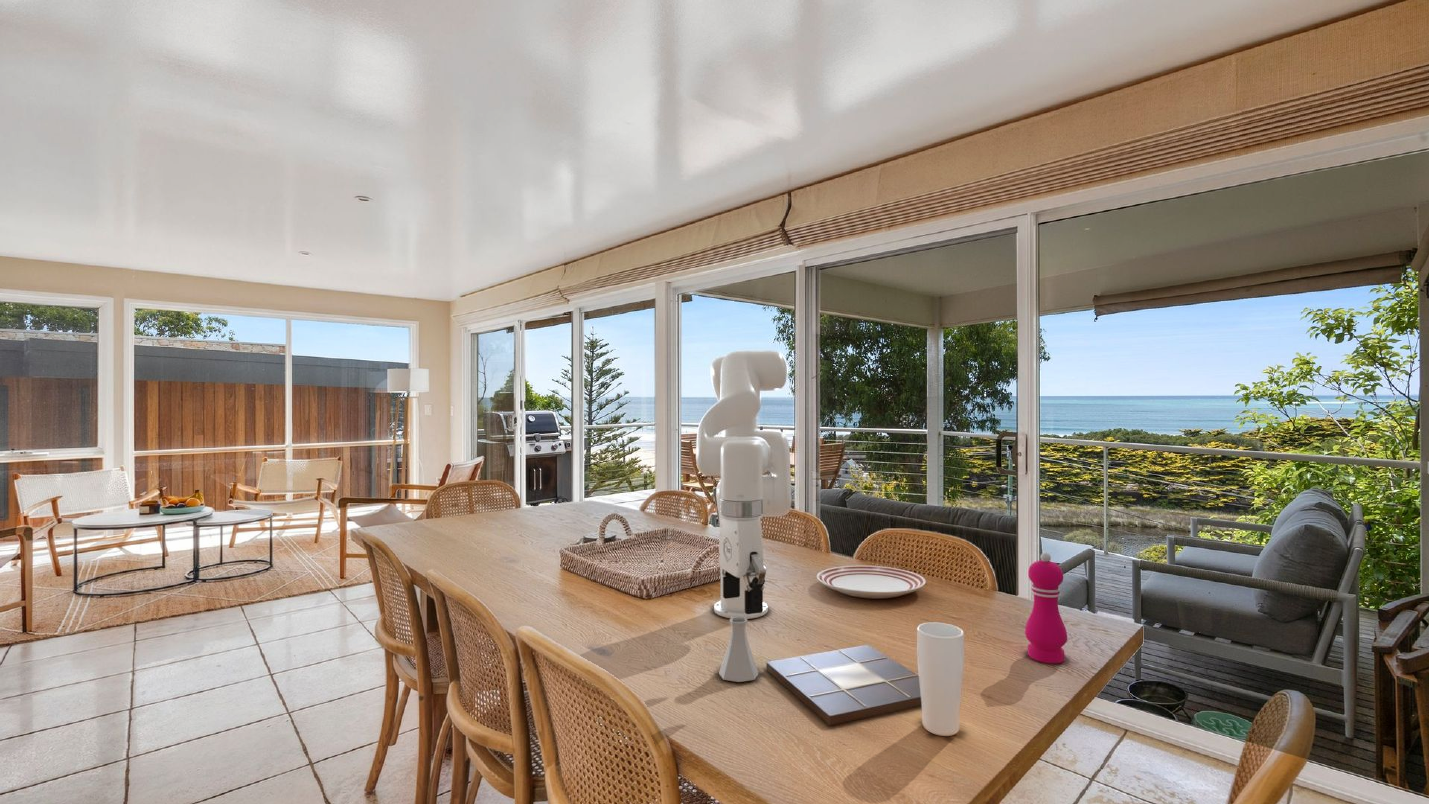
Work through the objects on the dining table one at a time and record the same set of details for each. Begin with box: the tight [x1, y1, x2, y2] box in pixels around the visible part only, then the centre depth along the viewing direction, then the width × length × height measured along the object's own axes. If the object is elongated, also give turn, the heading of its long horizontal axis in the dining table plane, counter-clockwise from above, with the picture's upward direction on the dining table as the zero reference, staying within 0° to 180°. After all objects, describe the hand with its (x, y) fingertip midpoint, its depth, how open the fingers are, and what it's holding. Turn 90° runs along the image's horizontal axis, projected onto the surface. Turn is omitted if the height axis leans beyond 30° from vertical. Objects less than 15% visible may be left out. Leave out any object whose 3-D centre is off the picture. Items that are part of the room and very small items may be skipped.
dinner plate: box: [816, 565, 927, 599], centre depth 170 cm, size 27×27×3 cm
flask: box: [718, 617, 760, 683], centre depth 118 cm, size 7×7×10 cm
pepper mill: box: [1024, 552, 1068, 664], centre depth 125 cm, size 7×7×20 cm
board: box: [765, 644, 922, 727], centre depth 114 cm, size 22×22×2 cm
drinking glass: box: [916, 621, 965, 737], centre depth 98 cm, size 7×7×15 cm
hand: (742, 604), depth 117 cm, fingers open, 9 cm apart
